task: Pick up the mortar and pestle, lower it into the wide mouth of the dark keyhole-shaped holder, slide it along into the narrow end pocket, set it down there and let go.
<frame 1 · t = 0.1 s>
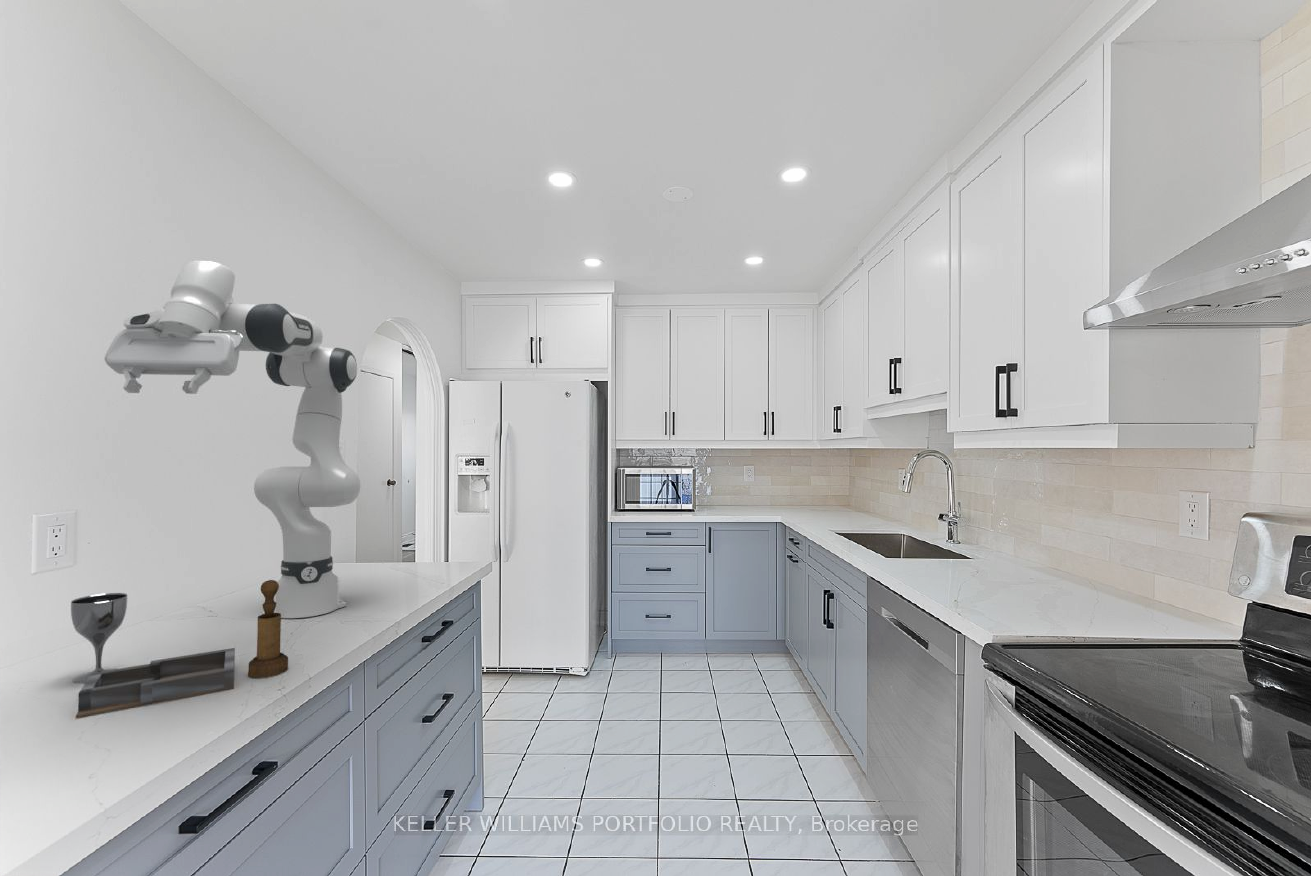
hand: (159, 391, 103), 54 cm above the countertop, tool tilted 30°, fingers open, 8 cm apart
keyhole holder: (163, 688, 108), on the countertop
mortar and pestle: (268, 672, 116), on the countertop
wine glass: (98, 676, 113), on the countertop
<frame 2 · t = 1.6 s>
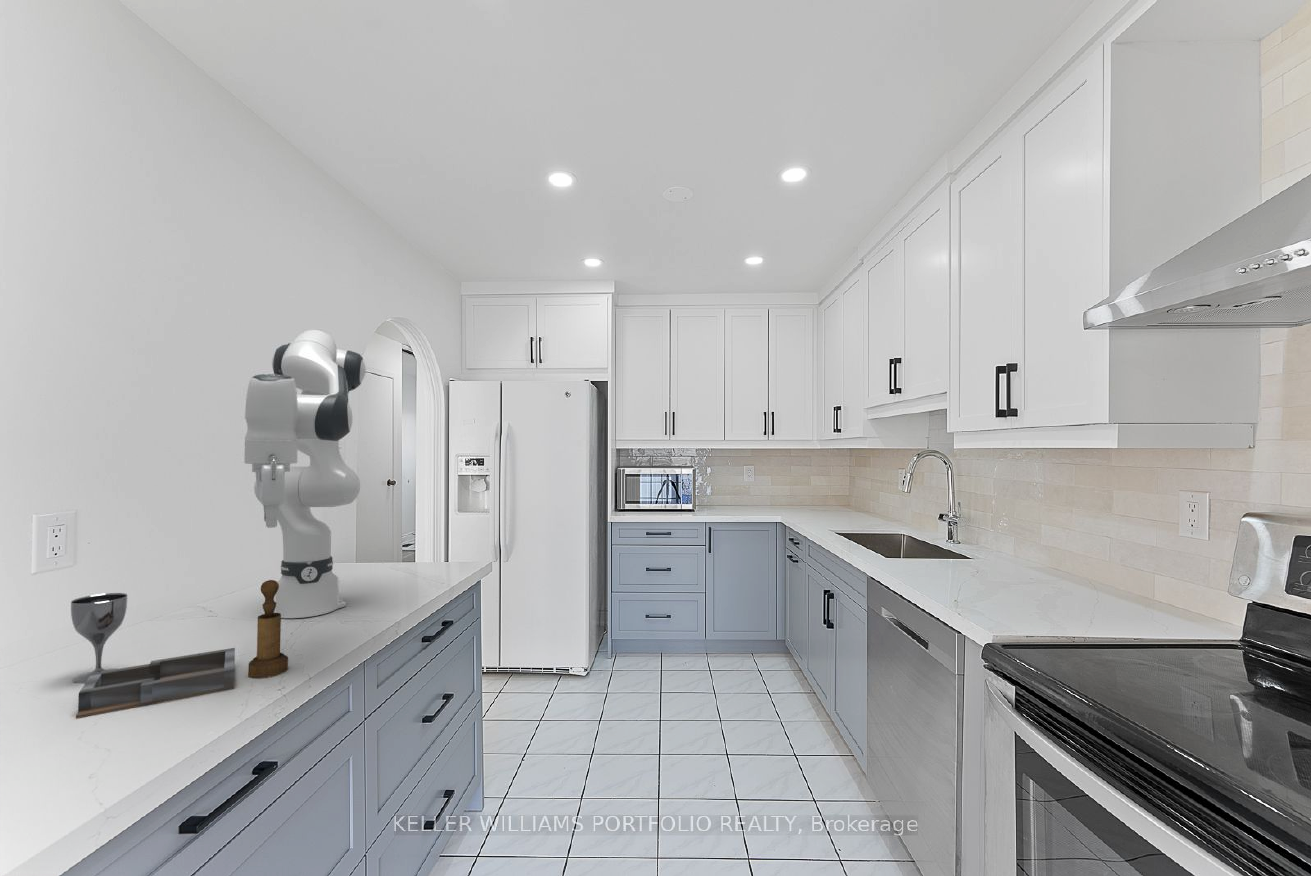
hand: (270, 524, 116), 29 cm above the countertop, tool pointing down, fingers open, 8 cm apart
nothing on the countertop moved.
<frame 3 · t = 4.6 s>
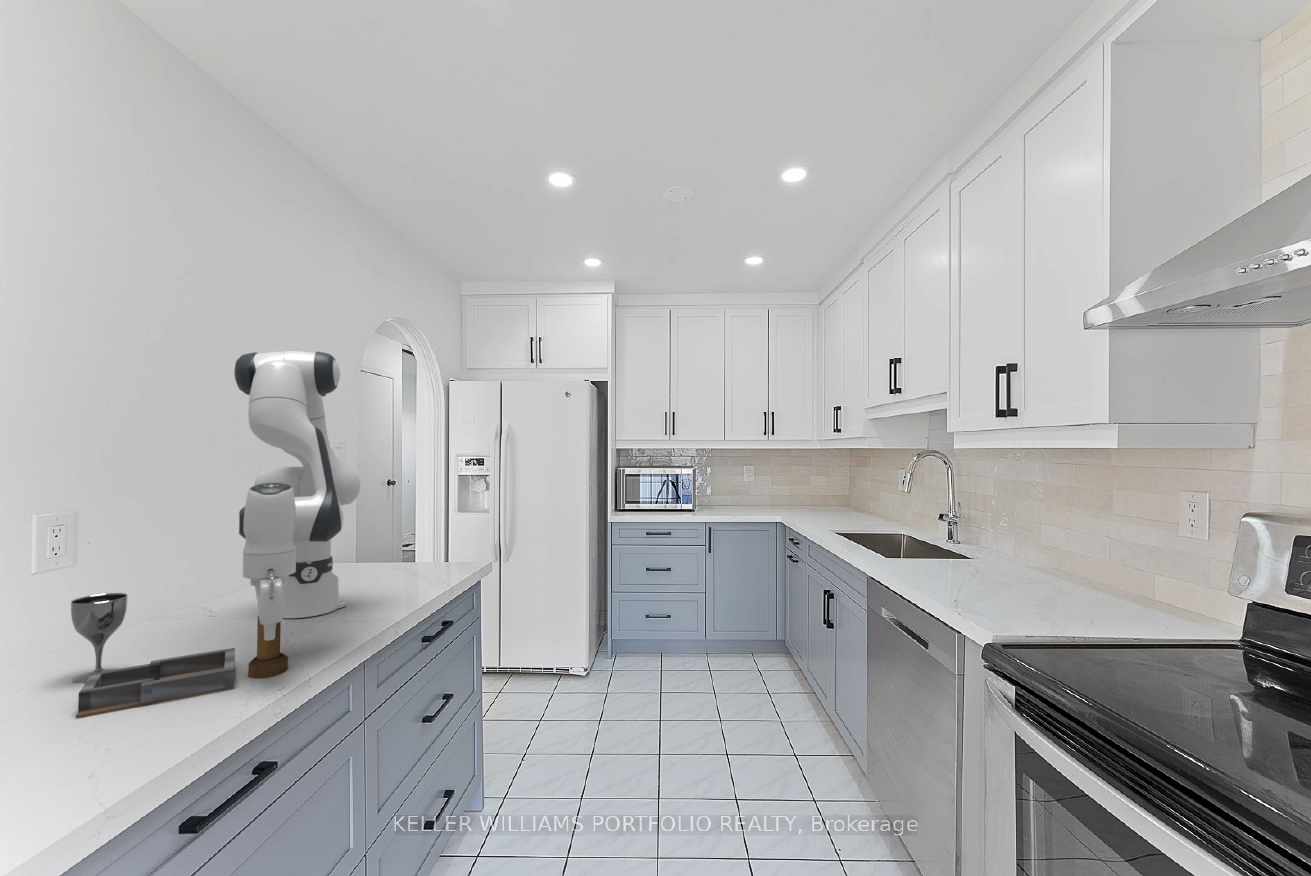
hand: (268, 635, 116), 7 cm above the countertop, tool pointing down, fingers closed on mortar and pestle, 4 cm apart
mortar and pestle: (268, 672, 116), on the countertop, touching gripper
everything else where it was.
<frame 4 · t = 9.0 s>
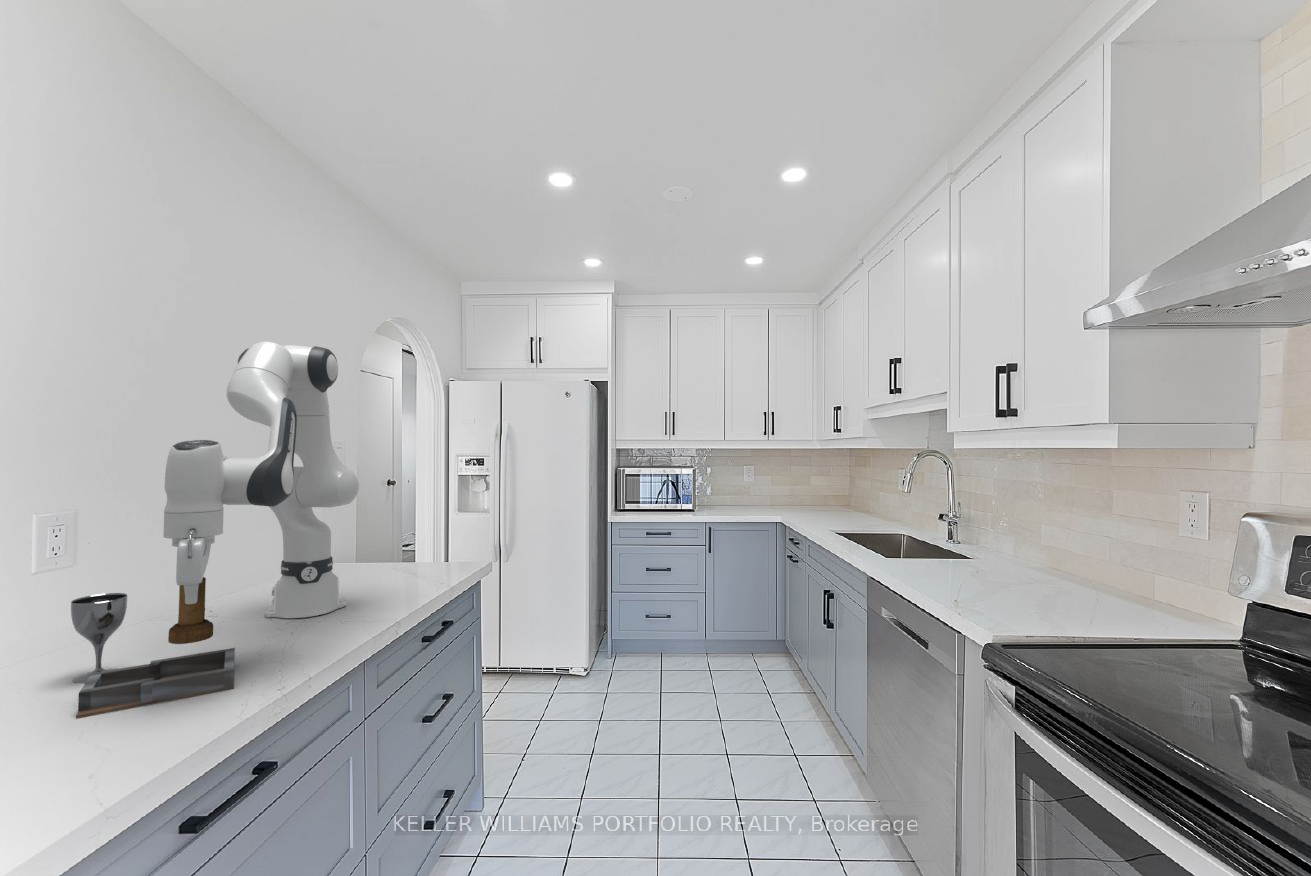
hand: (192, 600, 110), 16 cm above the countertop, tool pointing down, fingers closed on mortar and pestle, 4 cm apart
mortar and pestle: (191, 639, 110), point 8 cm above the countertop, touching gripper
everything else where it was.
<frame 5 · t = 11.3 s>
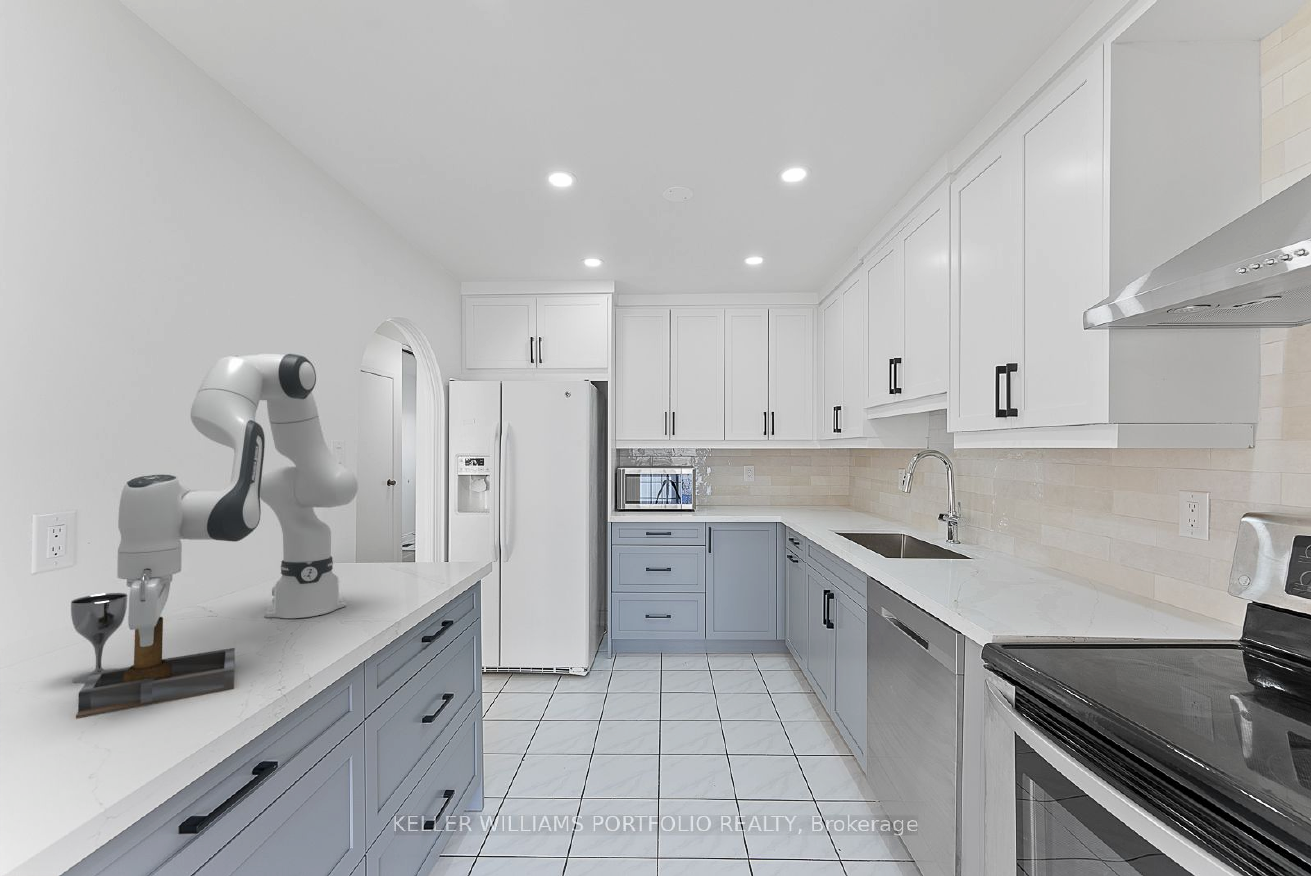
hand: (148, 641, 106), 9 cm above the countertop, tool pointing down, fingers closed on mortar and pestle, 4 cm apart
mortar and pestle: (147, 682, 106), point 2 cm above the countertop, touching gripper
everything else where it was.
when the fingers open (8 cm above the countertop, at t = 13.1 s): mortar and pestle stays where it is, resting on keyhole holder.
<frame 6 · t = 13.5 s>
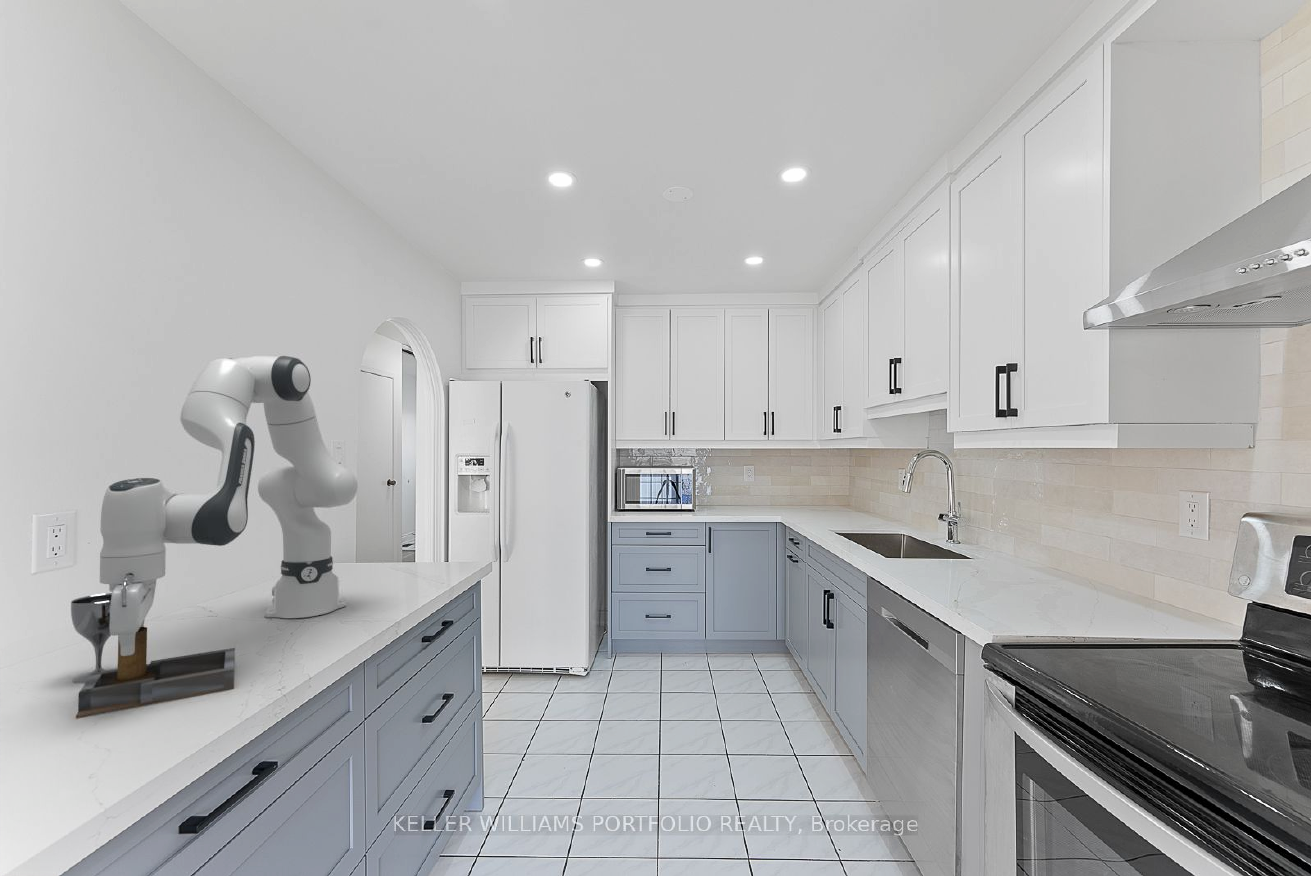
hand: (132, 646, 105), 9 cm above the countertop, tool pointing down, fingers open, 8 cm apart
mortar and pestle: (131, 693, 105), resting on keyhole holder
everything else where it was.
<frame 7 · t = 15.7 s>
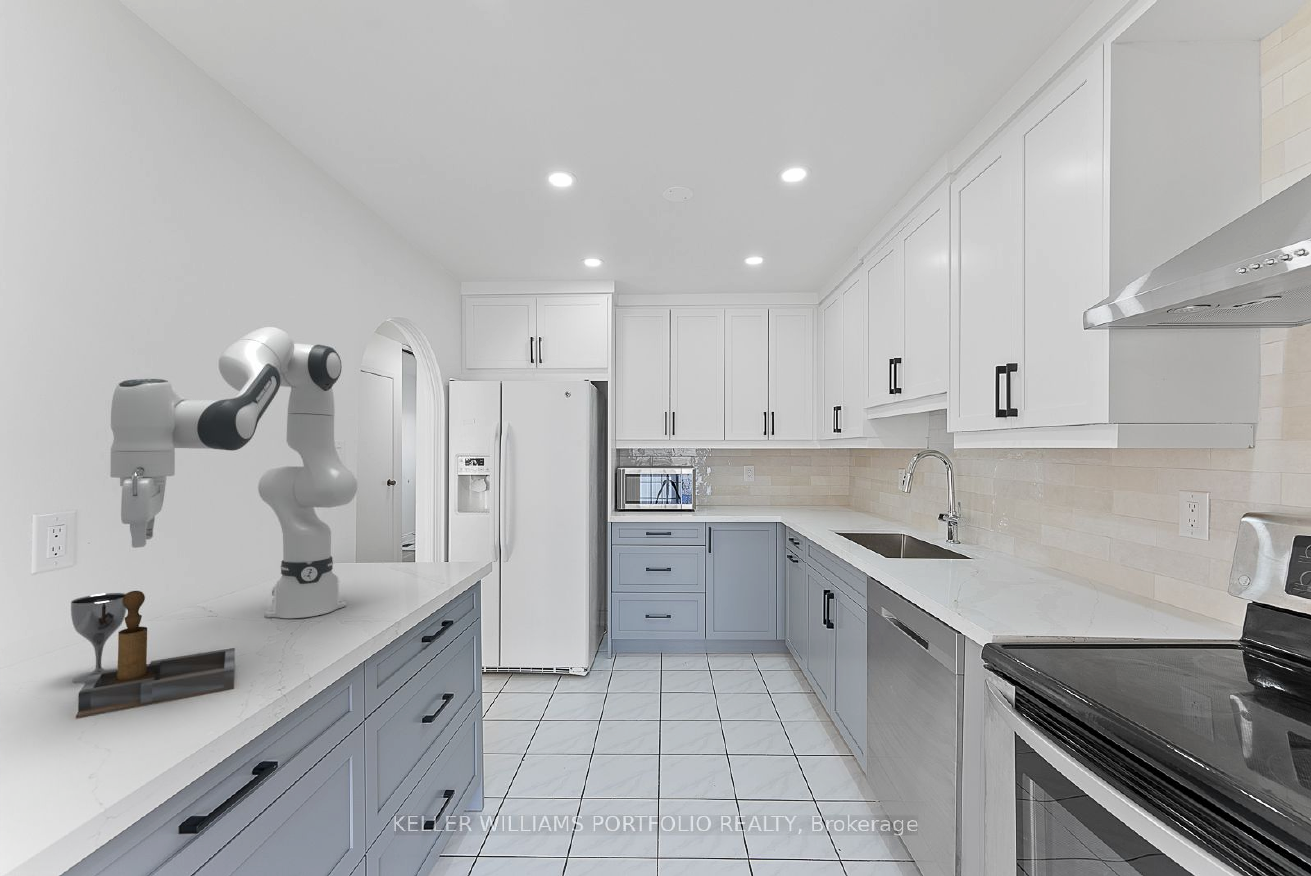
hand: (142, 542, 107), 27 cm above the countertop, tool pointing down, fingers open, 8 cm apart
nothing on the countertop moved.
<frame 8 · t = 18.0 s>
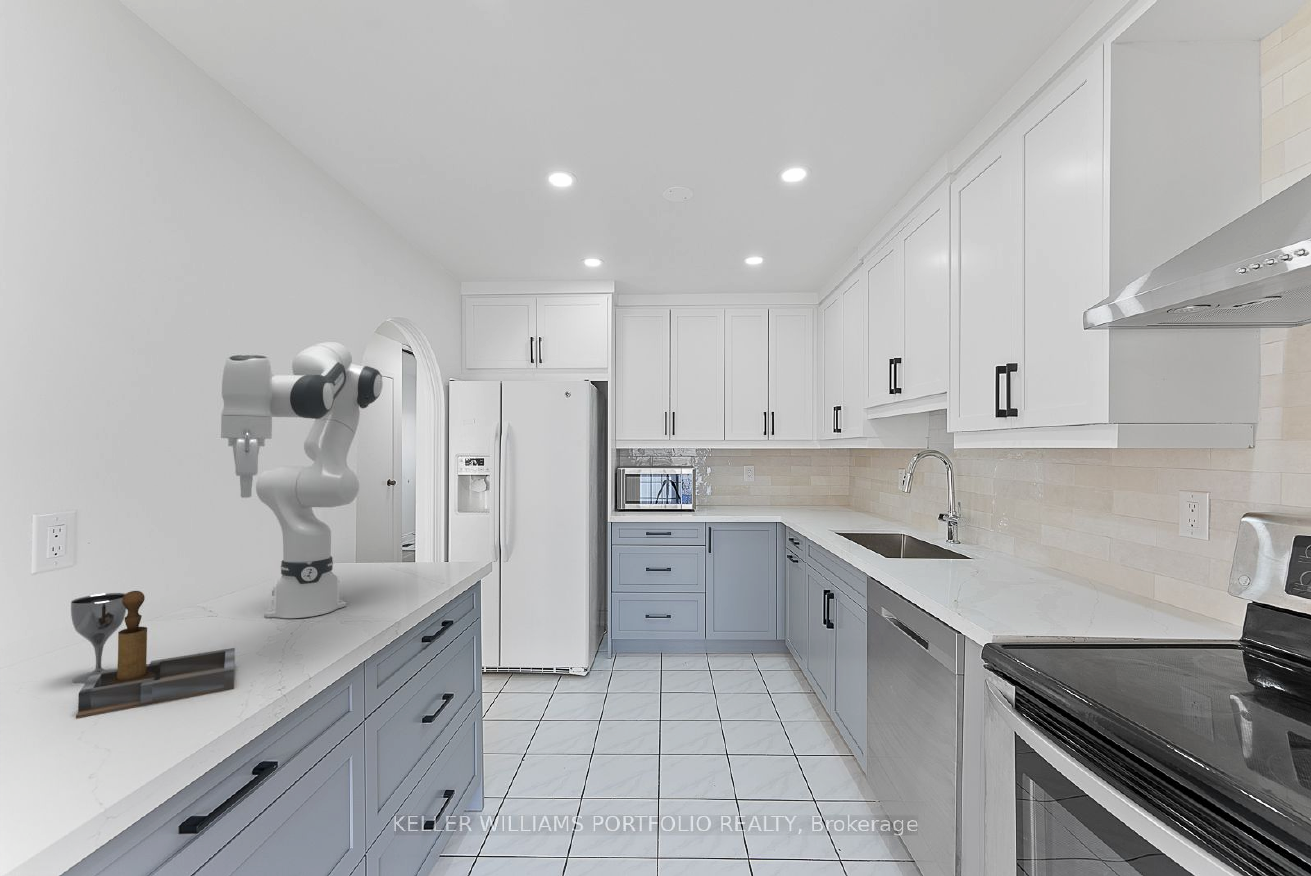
hand: (245, 495, 124), 34 cm above the countertop, tool pointing down, fingers open, 8 cm apart
nothing on the countertop moved.
at the end: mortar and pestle inside the target area on the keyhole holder (0.9 cm from its centre), point 0.3 cm above the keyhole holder's base; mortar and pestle tilted 0°; the gripper is holding nothing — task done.
